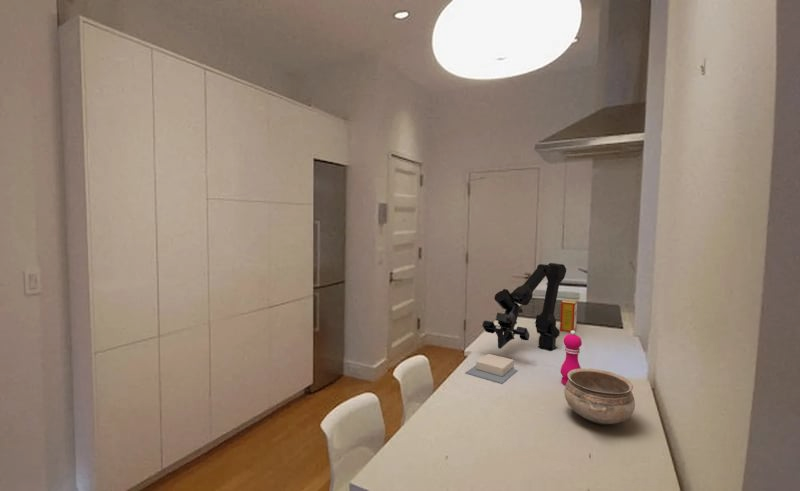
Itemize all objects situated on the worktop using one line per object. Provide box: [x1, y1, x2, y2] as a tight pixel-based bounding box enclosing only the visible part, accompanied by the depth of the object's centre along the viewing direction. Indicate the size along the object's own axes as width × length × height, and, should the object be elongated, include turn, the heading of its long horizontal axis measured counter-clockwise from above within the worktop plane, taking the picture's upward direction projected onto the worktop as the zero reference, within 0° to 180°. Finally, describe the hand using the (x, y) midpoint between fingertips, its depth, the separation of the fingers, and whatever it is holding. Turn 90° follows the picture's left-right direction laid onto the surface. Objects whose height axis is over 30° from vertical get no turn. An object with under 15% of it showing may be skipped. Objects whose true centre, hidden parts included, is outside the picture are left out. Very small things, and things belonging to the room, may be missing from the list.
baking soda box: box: [559, 298, 579, 333], centre depth 206 cm, size 10×6×16 cm
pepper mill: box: [559, 330, 583, 387], centre depth 140 cm, size 7×7×20 cm
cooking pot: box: [563, 367, 636, 426], centre depth 116 cm, size 25×19×12 cm
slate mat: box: [465, 365, 518, 385], centre depth 151 cm, size 15×15×1 cm
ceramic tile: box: [475, 353, 515, 376], centre depth 153 cm, size 3×11×11 cm
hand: (499, 348), depth 155 cm, fingers closed
